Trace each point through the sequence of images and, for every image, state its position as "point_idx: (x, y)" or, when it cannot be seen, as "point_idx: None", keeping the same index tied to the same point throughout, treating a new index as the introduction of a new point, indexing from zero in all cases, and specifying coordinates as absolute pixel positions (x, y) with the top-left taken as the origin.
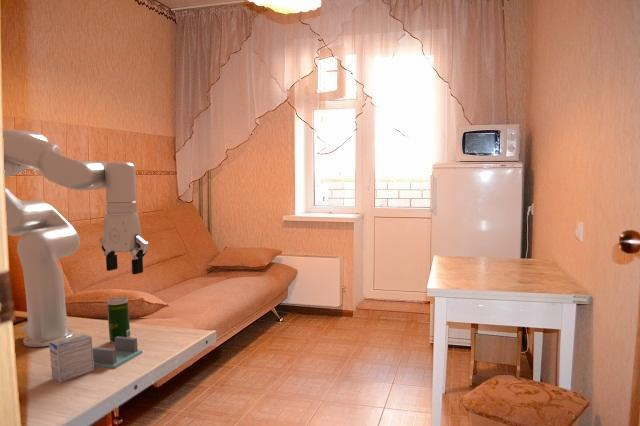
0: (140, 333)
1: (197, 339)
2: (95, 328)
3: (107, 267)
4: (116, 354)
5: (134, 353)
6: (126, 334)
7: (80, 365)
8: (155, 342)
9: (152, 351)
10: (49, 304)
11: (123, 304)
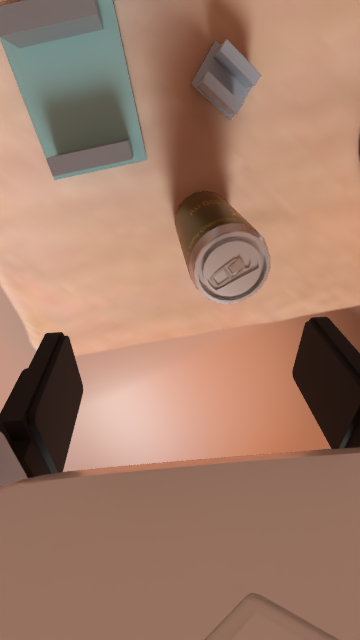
0: None
1: (24, 314)
2: (346, 256)
3: (325, 329)
4: (93, 111)
5: (51, 148)
6: (176, 226)
7: None
8: (100, 254)
9: (41, 201)
10: None
11: (188, 260)
